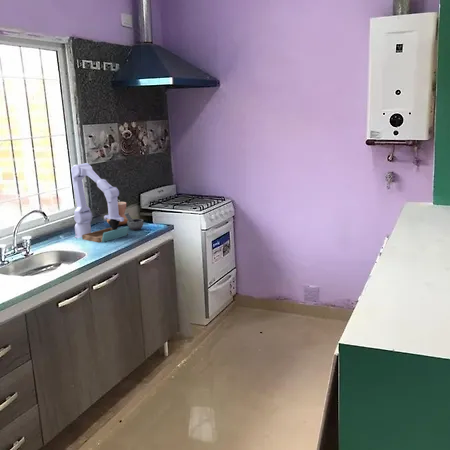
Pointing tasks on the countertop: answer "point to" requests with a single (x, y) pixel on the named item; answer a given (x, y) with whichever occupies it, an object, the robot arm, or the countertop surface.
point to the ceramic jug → (121, 213)
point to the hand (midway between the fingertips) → (115, 232)
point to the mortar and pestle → (134, 222)
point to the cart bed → (96, 235)
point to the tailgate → (115, 234)
